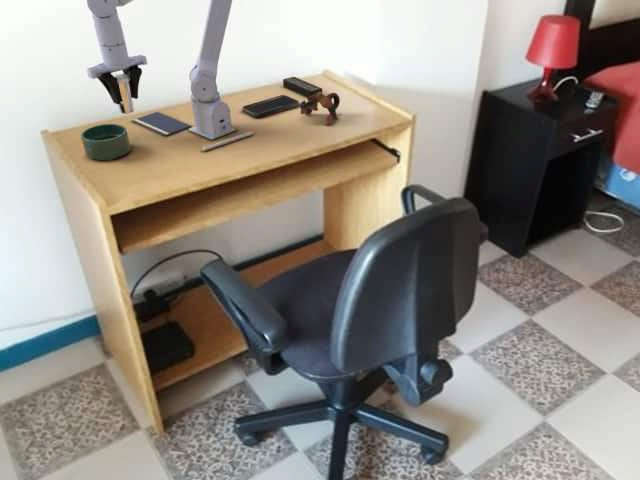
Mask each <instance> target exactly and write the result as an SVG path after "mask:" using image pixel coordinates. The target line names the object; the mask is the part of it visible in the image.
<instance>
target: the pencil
mask: <svg viewBox="0 0 640 480" xmlns="http://www.w3.org/2000/svg"><path fill="white" fill-rule="evenodd" d="M253 133H254V132H252V131H249V132H245V133H243V134H239V135H237V136H234V137H231V138H228V139H225V140H222V141H219V142H216V143H212V144H209V145H207V146H203V147H202V149H201V150H202V152H206V151H209V150H211V149H214V148H217V147H220V146H222V145H226V144H229V143H231V142H235V141H238V140H241V139H244V138H246V137H250V136H252V135H253Z"/></svg>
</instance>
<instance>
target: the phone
mask: <svg viewBox="0 0 640 480" xmlns="http://www.w3.org/2000/svg"><path fill="white" fill-rule="evenodd" d="M299 103H300V102H299V100H298V99H296V98H293V97H291V96H288V95H285V94H280V95H277V96H274V97H270V98H267V99H264V100H260V101H257V102H253V103H250V104H247V105H243V106H242V112H243V113H245V114H246V115H249V116H251V117H253V118H255V119H261V118H265V117H267V116H271V115H274V114H276V113H280V112H283V111H286V110H289V109H293V108H296V107H299V105H300V104H299Z"/></svg>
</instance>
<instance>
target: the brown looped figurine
mask: <svg viewBox="0 0 640 480" xmlns="http://www.w3.org/2000/svg"><path fill="white" fill-rule="evenodd" d="M332 100H333V101H332ZM340 102H341V99H340V96H339V94H338V93H336V92H331V93H329V94H327V95H324V94H323V91H322V92H318V93H316V94H314V95H312V96H311V97H309V98H307V101H306V100H303V101H302V102H301V103H300V104H299V106H298V107H299V108H300V115H305V116H310V115H311V114H312V112H313V111H314V112H317V111H319V108H318V104H320V105H321V107H322V108H324V109H327V110H328V112H329V114H328V115H327V116H326V117H325V119H324V120H325V121H326V124H327V125H328V126H330V125H332V124H334V123H335V122H336V121H337V120H338V116H337V109H338V108H339V106H340Z"/></svg>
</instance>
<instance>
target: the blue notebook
mask: <svg viewBox="0 0 640 480" xmlns="http://www.w3.org/2000/svg"><path fill="white" fill-rule="evenodd" d="M131 122H132V123H134V124H137V125H138V126H141V127H143V128H146V129H148V130H150V131H152V132H155V133H157V134H158V135H162V136H164V137H169V136H171V135H173V134H176V133H179V132H181V131H184V130H187V129H189V128H192V125H190V124H188V123H185V122H182V121H180V120H178V119H175V118H173V117H171V116H168V115H166V114H163V113H160V112H159V111H156V112H153V113H150V114H146V115H144V116H141V117H137V118H133V119H132V120H131Z"/></svg>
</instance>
